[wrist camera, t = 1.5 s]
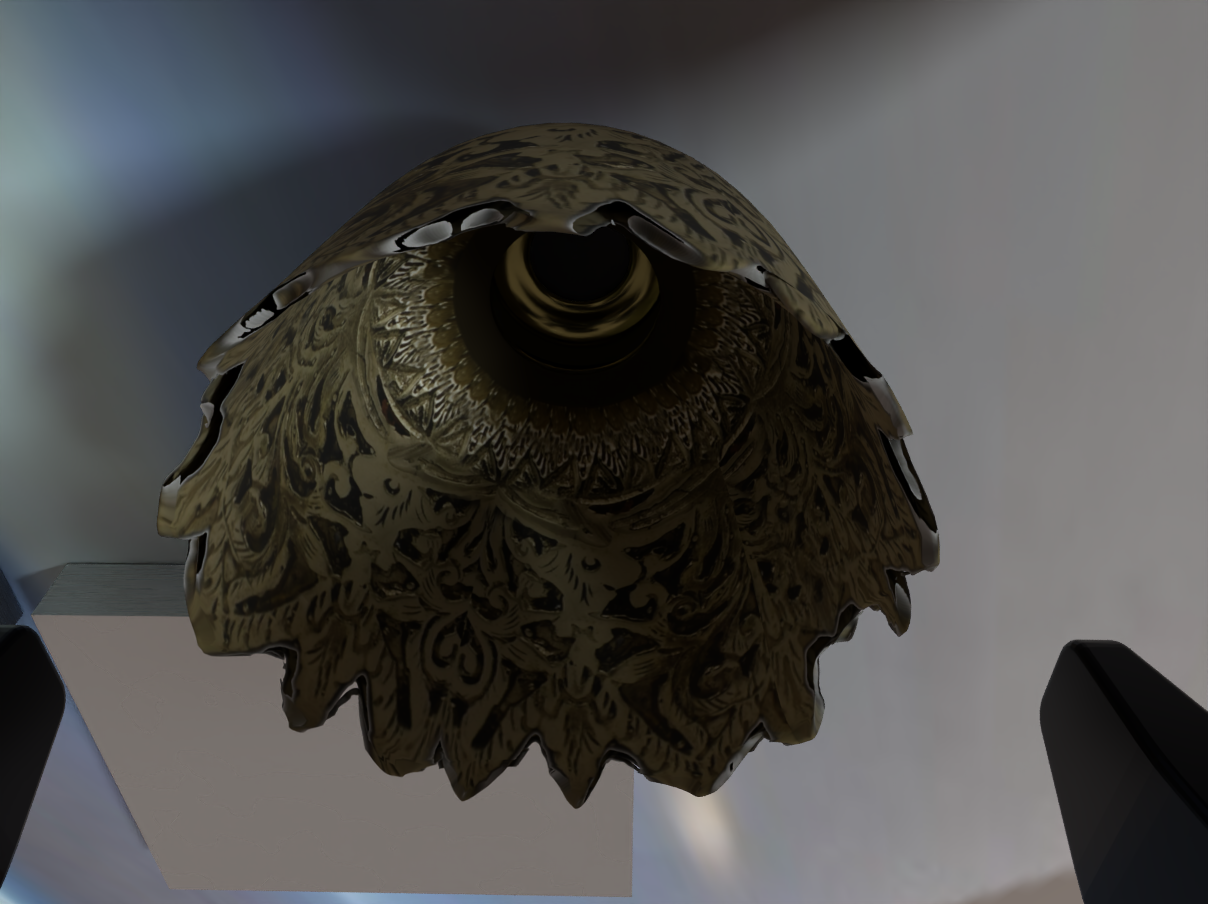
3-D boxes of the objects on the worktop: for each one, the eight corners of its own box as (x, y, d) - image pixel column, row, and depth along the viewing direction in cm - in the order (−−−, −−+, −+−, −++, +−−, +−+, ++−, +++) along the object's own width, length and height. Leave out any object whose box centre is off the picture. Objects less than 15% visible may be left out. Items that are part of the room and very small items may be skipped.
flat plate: (635, 568, 20) (635, 621, 19) (631, 843, 26) (631, 896, 24) (67, 563, 20) (30, 615, 19) (191, 836, 26) (169, 889, 25)
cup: (659, 494, 19) (674, 882, 12) (296, 333, 17) (83, 692, 10) (900, 165, 15) (1116, 476, 8) (464, -95, 13) (295, 42, 6)
